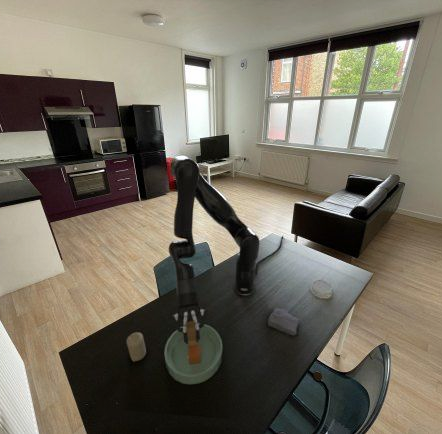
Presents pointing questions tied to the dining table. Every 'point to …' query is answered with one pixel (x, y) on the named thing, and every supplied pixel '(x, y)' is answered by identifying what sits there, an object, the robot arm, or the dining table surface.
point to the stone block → (284, 321)
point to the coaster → (321, 289)
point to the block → (194, 355)
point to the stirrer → (191, 333)
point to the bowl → (179, 356)
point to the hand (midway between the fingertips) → (192, 342)
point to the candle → (136, 346)
